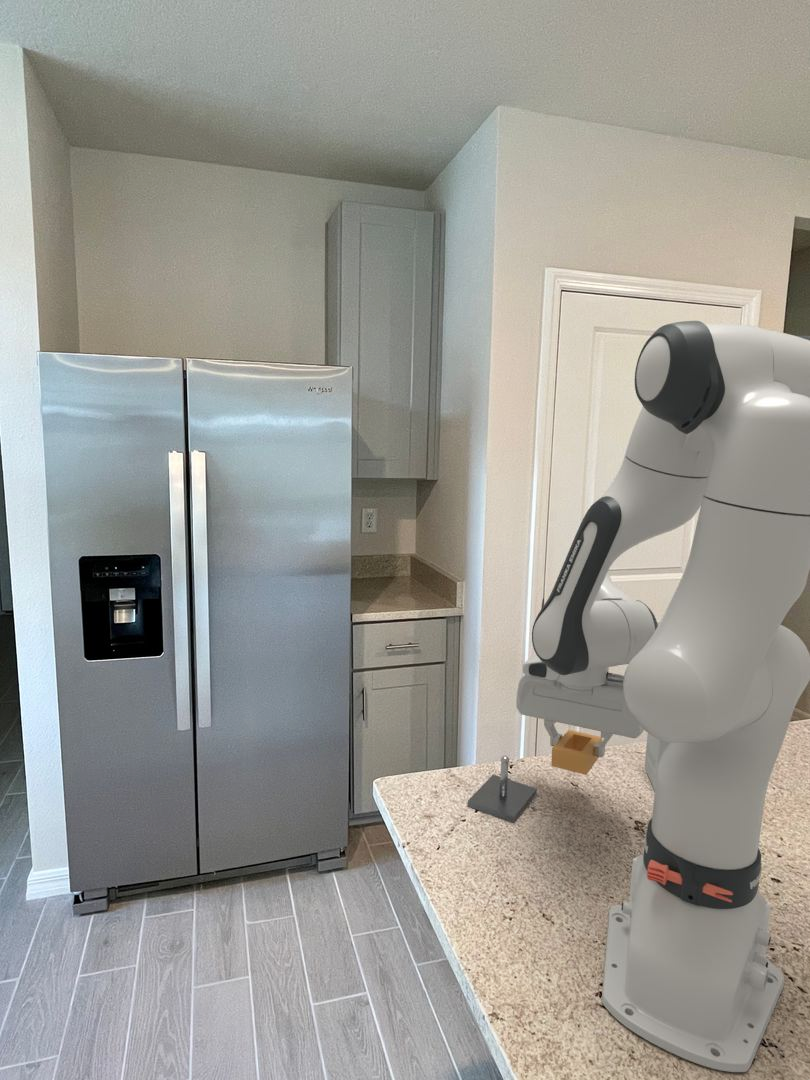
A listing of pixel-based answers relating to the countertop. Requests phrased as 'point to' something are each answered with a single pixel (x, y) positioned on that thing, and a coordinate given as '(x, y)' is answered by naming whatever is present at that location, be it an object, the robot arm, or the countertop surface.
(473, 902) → the countertop surface
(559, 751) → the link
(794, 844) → the countertop surface
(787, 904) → the countertop surface
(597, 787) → the countertop surface
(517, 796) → the keeper post
